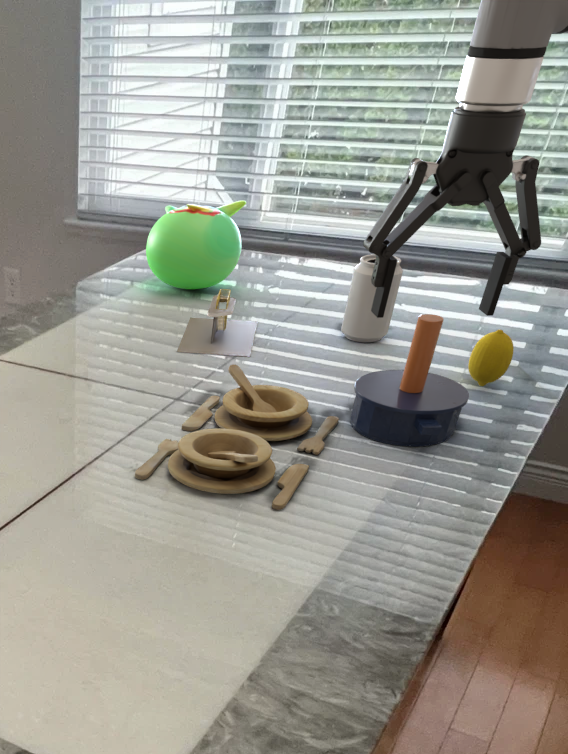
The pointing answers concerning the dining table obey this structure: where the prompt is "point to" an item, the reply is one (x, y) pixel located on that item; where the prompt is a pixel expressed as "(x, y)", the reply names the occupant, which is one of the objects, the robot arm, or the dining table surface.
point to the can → (368, 303)
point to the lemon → (491, 357)
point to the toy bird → (194, 245)
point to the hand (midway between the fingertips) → (431, 313)
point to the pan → (402, 425)
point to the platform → (219, 331)
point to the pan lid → (414, 379)
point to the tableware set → (241, 441)
